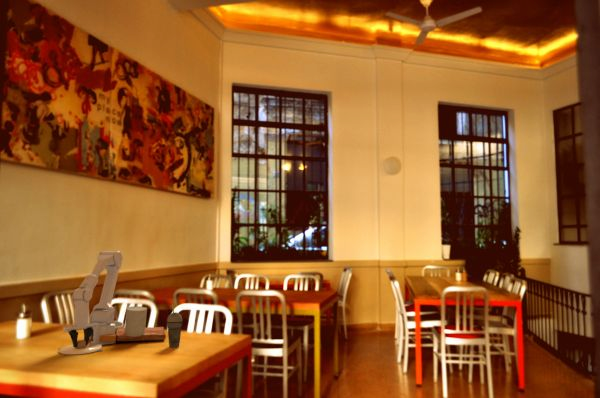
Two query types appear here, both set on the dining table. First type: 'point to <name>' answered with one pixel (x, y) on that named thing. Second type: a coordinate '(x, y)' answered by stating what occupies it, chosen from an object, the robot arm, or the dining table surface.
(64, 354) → the mat
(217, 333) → the dining table surface
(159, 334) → the brown wooden board
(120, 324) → the dog bowl
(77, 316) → the robot arm
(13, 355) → the dining table surface
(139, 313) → the grey cylinder
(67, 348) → the lid
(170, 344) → the beverage cup
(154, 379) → the dining table surface
